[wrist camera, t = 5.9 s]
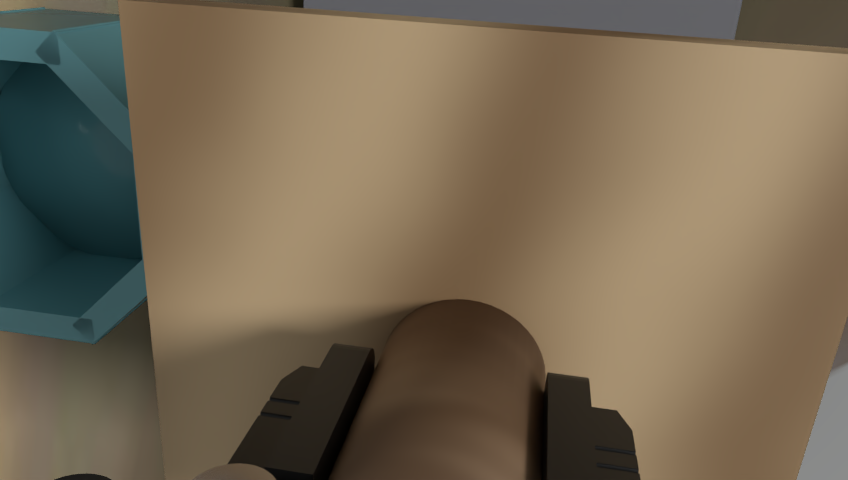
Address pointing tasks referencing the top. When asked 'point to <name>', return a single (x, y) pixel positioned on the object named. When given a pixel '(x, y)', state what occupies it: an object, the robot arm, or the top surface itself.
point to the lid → (488, 233)
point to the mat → (569, 13)
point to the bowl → (66, 177)
